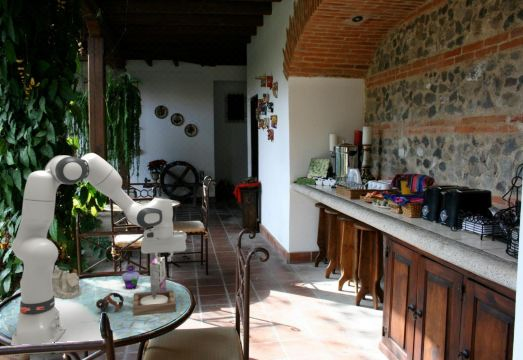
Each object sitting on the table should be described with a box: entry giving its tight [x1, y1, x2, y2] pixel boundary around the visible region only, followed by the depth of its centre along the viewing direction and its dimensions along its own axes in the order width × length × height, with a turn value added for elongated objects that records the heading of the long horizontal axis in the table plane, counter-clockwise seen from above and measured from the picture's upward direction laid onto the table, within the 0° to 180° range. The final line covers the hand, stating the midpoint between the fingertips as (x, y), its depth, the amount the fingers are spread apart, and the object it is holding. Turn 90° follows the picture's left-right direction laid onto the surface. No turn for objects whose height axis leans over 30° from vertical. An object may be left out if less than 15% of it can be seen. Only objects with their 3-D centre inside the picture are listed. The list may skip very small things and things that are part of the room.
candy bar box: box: [149, 256, 167, 292], centre depth 221 cm, size 11×5×16 cm, turn 179°
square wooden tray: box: [132, 289, 177, 316], centre depth 205 cm, size 18×18×4 cm
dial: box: [141, 285, 168, 305], centre depth 205 cm, size 12×12×7 cm
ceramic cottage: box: [52, 264, 83, 300], centre depth 222 cm, size 16×16×15 cm
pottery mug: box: [95, 292, 125, 313], centre depth 201 cm, size 12×10×8 cm
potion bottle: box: [121, 263, 141, 290], centre depth 229 cm, size 9×9×12 cm
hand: (164, 261), depth 209 cm, fingers open, 3 cm apart
